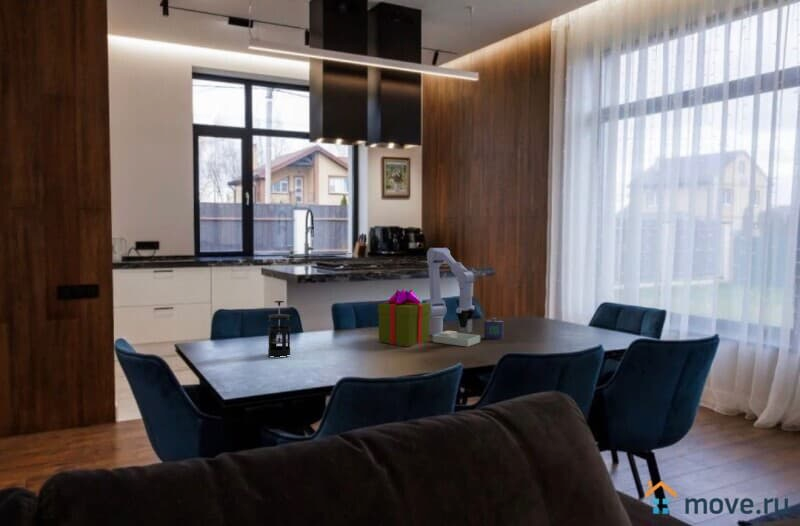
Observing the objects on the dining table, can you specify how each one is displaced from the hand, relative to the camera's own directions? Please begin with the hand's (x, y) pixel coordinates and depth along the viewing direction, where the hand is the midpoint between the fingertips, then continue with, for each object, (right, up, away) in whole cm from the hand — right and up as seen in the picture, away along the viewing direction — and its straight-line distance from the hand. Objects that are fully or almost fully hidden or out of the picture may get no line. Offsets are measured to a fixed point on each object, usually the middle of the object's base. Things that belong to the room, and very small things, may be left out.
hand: (465, 326), depth 267 cm
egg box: (-7, -7, +6) cm, 12 cm away
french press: (-81, -9, -27) cm, 86 cm away
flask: (+15, -8, +13) cm, 22 cm away
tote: (-4, -8, +3) cm, 9 cm away
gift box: (-28, -8, +4) cm, 30 cm away
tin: (0, -2, 0) cm, 2 cm away
